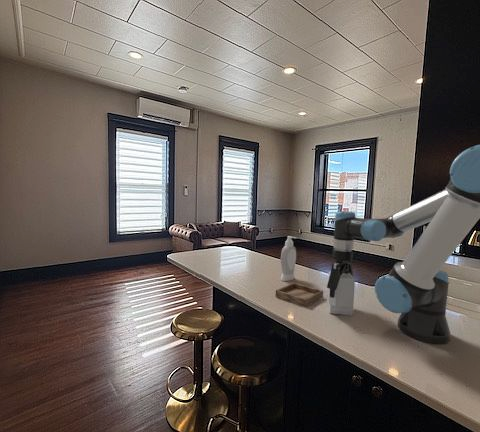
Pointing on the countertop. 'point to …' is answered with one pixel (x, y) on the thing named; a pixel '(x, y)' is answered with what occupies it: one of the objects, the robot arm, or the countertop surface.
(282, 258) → the soap bottle
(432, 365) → the countertop surface
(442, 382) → the countertop surface
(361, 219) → the robot arm
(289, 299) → the tray
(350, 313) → the supplement box
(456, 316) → the countertop surface
